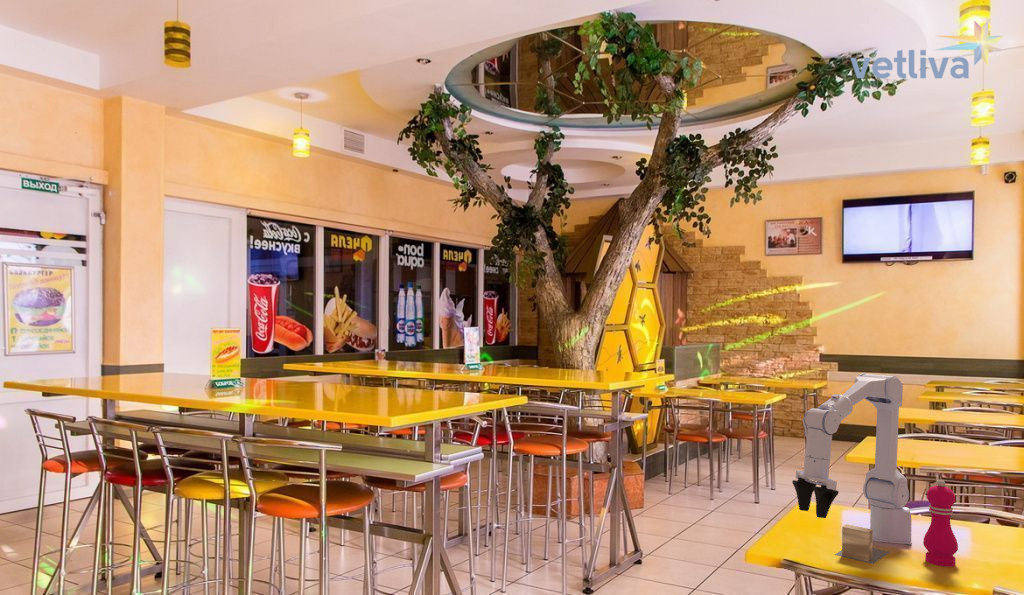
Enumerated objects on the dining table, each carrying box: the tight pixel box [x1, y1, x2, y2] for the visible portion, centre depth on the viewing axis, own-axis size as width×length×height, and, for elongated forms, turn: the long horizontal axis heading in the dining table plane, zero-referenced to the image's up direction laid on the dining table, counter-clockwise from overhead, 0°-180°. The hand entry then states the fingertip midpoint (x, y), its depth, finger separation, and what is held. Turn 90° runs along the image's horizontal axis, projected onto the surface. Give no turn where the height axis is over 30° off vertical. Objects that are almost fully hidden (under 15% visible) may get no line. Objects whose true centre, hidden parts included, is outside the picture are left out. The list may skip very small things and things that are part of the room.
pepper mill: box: [922, 479, 959, 568], centre depth 176 cm, size 7×7×20 cm
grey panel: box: [834, 547, 890, 565], centre depth 181 cm, size 13×9×1 cm
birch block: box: [841, 523, 873, 561], centre depth 178 cm, size 3×6×7 cm, turn 47°
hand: (812, 513), depth 178 cm, fingers open, 7 cm apart
